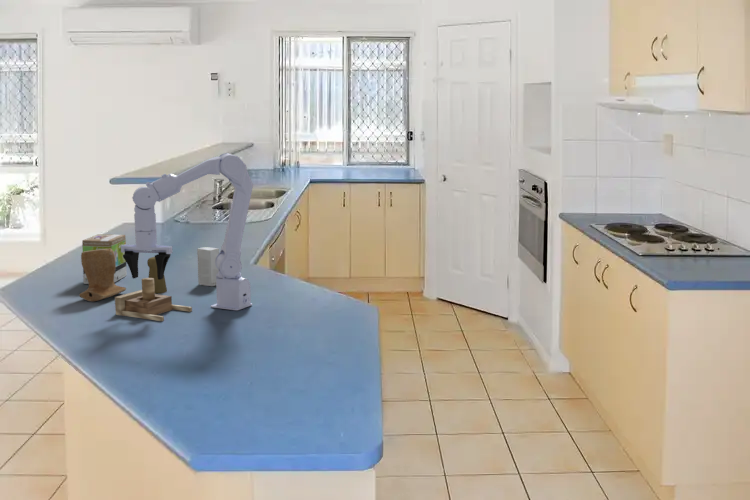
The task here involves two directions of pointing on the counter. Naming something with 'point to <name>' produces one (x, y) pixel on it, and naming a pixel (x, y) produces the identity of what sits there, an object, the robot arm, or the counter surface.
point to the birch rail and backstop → (122, 311)
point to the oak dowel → (148, 289)
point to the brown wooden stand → (99, 274)
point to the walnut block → (149, 305)
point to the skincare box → (207, 266)
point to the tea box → (105, 243)
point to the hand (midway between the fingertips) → (147, 278)
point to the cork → (158, 284)
